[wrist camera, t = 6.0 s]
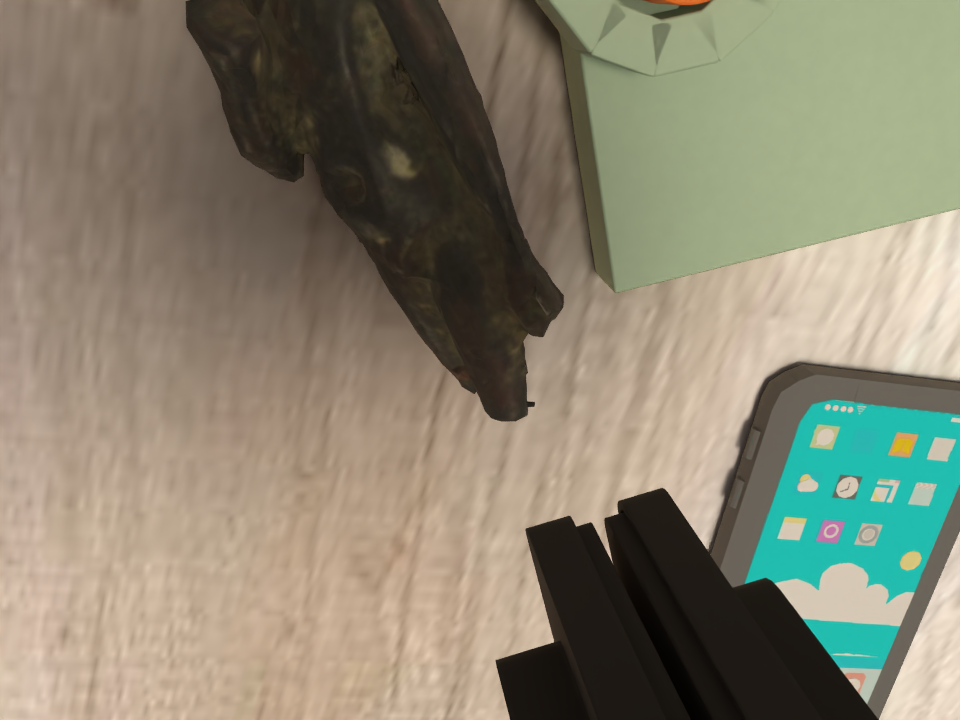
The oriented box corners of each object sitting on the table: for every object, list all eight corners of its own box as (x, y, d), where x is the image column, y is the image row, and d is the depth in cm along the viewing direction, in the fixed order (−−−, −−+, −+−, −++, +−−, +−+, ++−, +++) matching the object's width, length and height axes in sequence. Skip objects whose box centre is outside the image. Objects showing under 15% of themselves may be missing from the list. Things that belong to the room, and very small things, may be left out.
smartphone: (656, 761, 32) (782, 372, 27) (646, 739, 33) (767, 359, 28) (869, 763, 34) (1026, 400, 29) (854, 742, 35) (1004, 387, 29)
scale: (563, 282, 26) (597, 323, 23) (486, -174, 21) (515, -202, 18) (986, 178, 27) (1077, 204, 23) (1001, -281, 22) (1116, -326, 19)
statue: (348, 471, 24) (-136, -400, 17) (469, 361, 27) (110, -404, 20) (528, 487, 20) (-23, -688, 12) (645, 353, 23) (268, -630, 16)
